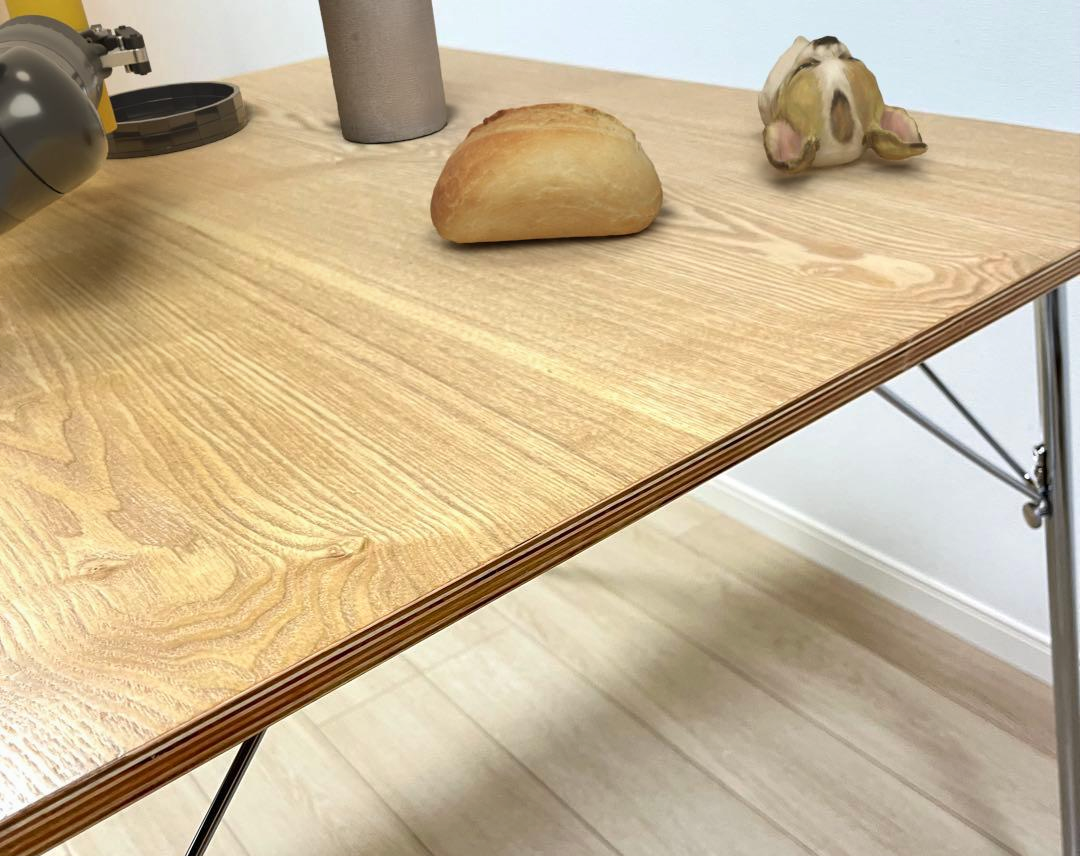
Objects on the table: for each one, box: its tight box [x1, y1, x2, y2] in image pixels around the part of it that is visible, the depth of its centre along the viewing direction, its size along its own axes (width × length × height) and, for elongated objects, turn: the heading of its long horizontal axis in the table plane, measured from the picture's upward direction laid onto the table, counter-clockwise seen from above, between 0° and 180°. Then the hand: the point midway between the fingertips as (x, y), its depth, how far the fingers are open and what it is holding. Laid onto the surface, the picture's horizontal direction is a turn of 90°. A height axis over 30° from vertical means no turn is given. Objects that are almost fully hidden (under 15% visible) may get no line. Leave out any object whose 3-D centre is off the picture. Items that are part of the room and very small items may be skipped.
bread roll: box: [429, 102, 664, 244], centre depth 73 cm, size 10×15×8 cm, turn 93°
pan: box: [106, 80, 248, 159], centre depth 109 cm, size 16×16×3 cm
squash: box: [4, 0, 117, 134], centre depth 86 cm, size 5×5×11 cm
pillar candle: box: [317, 0, 448, 144], centre depth 99 cm, size 10×10×15 cm
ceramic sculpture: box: [757, 35, 929, 175], centre depth 80 cm, size 11×9×15 cm
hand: (61, 44), depth 87 cm, fingers closed on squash, 5 cm apart
